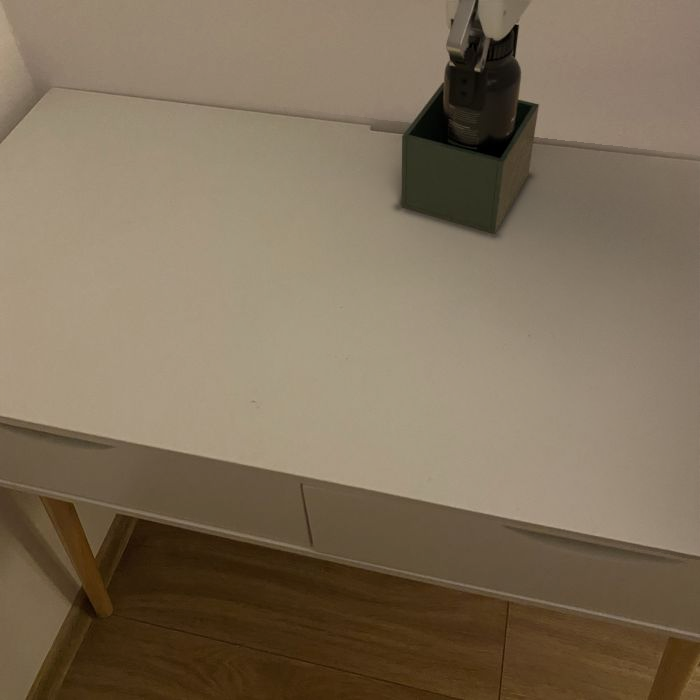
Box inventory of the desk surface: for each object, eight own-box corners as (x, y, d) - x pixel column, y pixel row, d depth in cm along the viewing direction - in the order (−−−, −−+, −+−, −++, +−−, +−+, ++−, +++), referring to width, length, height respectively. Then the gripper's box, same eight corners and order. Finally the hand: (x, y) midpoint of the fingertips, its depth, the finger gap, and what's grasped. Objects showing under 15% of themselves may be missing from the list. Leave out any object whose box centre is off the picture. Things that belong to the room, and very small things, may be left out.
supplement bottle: (525, 159, 78) (541, 41, 69) (460, 179, 77) (468, 60, 67) (491, 121, 82) (502, 5, 73) (429, 139, 81) (432, 23, 72)
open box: (528, 175, 86) (539, 104, 79) (494, 233, 80) (503, 162, 74) (439, 152, 89) (442, 81, 83) (401, 206, 83) (401, 136, 77)
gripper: (509, -79, 54) (487, 147, 68) (585, -166, 64) (552, 46, 78) (406, -95, 57) (404, 126, 70) (494, -177, 67) (477, 31, 80)
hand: (482, 83), depth 74 cm, fingers closed on supplement bottle, 6 cm apart
